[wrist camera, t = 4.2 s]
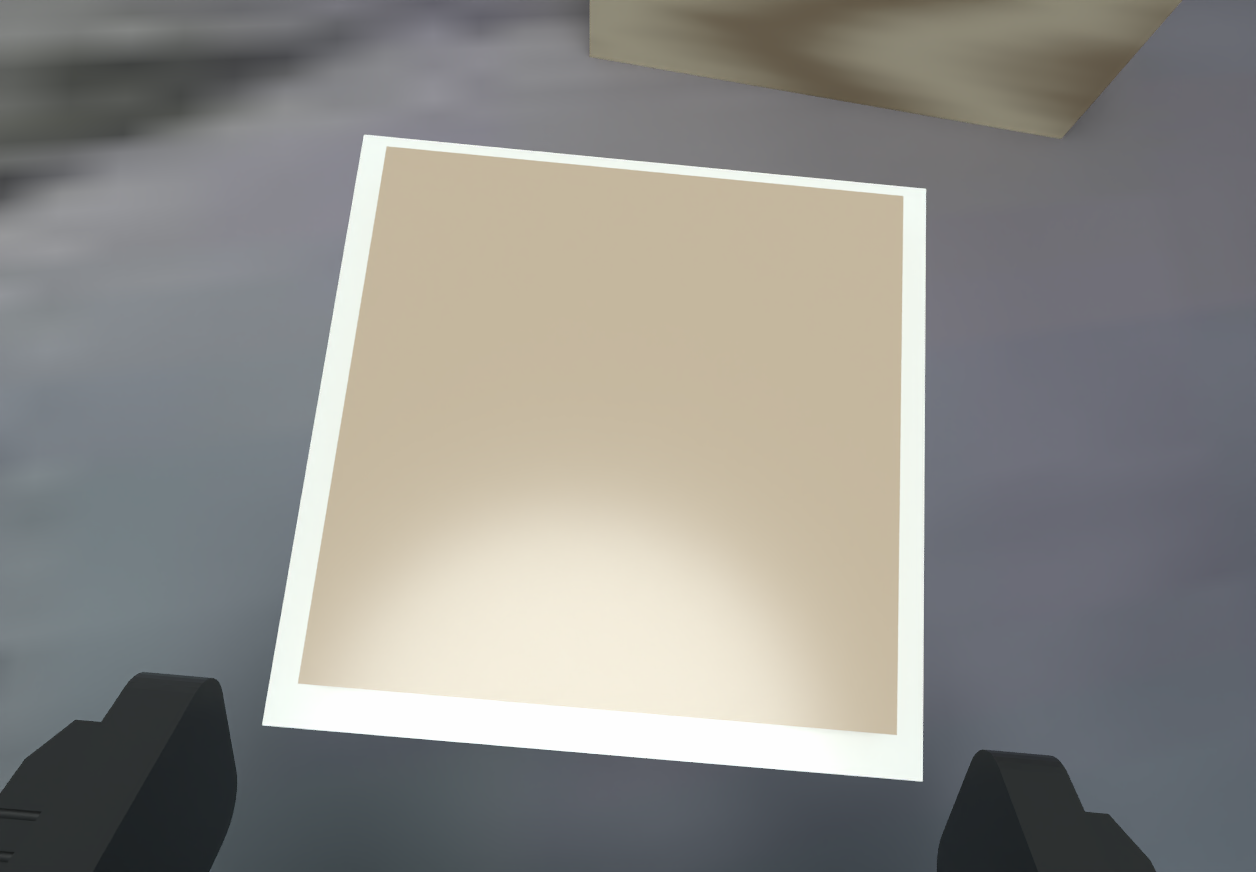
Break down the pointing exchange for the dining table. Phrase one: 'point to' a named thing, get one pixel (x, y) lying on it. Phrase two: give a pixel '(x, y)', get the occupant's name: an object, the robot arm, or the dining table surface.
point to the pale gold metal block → (896, 50)
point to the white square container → (617, 465)
